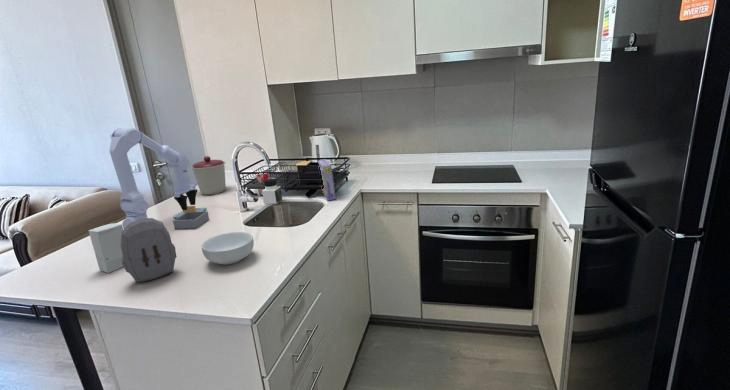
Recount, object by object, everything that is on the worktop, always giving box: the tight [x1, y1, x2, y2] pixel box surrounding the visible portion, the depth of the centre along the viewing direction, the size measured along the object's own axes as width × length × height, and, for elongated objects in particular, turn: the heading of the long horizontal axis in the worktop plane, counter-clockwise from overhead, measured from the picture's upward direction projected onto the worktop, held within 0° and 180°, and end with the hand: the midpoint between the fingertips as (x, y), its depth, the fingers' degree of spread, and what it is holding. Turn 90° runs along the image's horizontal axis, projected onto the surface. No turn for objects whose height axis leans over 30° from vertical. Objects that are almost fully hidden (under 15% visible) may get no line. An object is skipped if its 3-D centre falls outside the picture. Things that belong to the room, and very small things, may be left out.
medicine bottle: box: [261, 177, 283, 205], centre depth 191 cm, size 7×7×12 cm
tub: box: [172, 210, 210, 230], centre depth 168 cm, size 11×10×4 cm
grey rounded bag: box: [120, 217, 178, 283], centre depth 119 cm, size 15×8×20 cm, turn 127°
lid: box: [172, 205, 207, 219], centre depth 183 cm, size 12×11×4 cm
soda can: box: [256, 172, 271, 196], centre depth 206 cm, size 7×7×12 cm
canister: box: [190, 155, 227, 196], centre depth 216 cm, size 18×18×21 cm
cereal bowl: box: [201, 231, 255, 266], centre depth 130 cm, size 17×17×7 cm
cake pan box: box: [317, 158, 337, 201], centre depth 194 cm, size 19×5×18 cm, turn 14°
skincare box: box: [88, 222, 125, 274], centre depth 130 cm, size 8×6×15 cm
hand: (188, 207), depth 182 cm, fingers open, 7 cm apart
